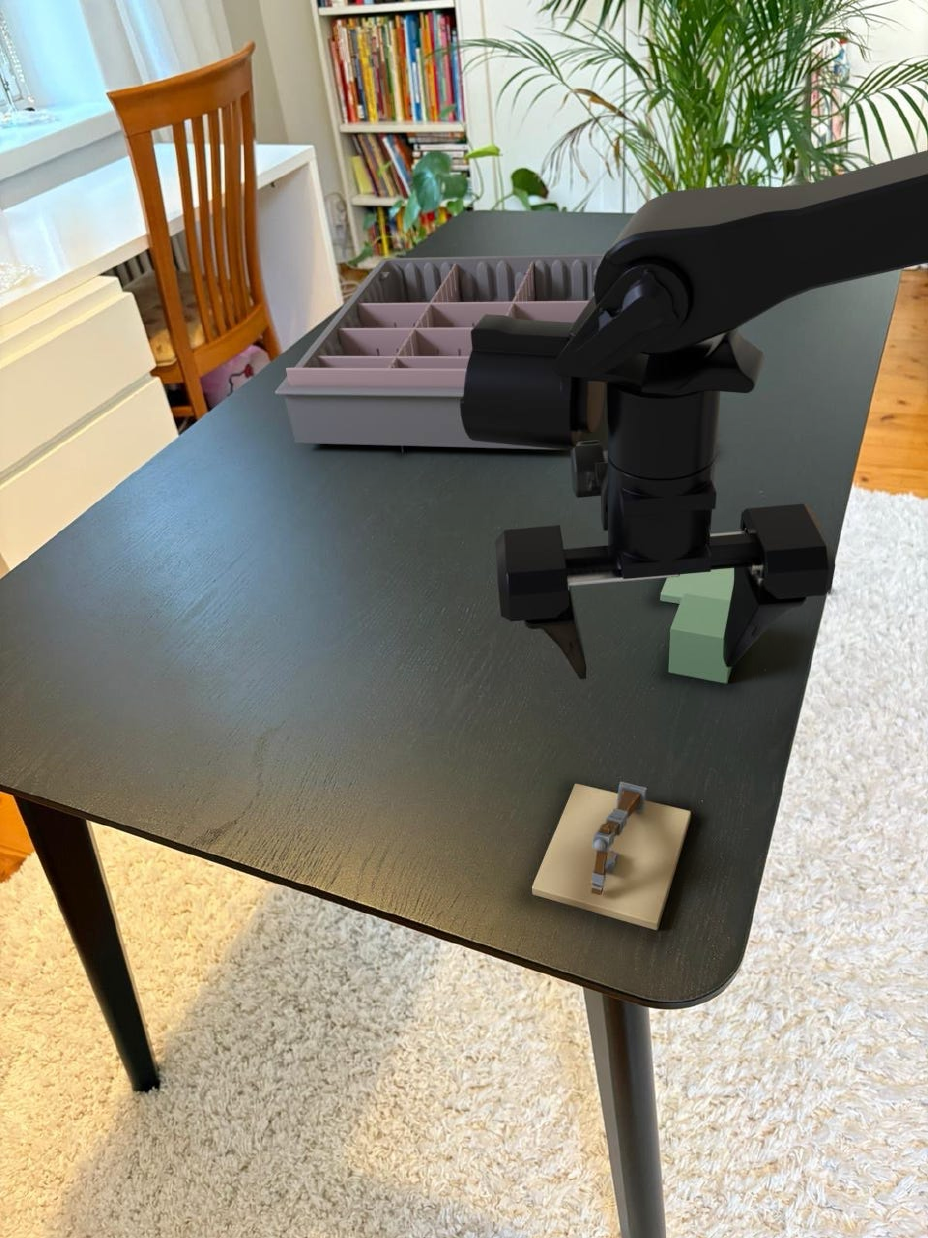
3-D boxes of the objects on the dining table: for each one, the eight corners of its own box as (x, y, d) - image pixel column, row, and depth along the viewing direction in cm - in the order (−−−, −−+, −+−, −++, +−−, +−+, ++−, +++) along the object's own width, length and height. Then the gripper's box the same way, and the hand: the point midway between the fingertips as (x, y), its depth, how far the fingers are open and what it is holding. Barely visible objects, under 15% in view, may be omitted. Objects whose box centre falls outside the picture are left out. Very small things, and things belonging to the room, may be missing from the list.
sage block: (738, 646, 77) (742, 602, 75) (726, 684, 74) (731, 639, 71) (681, 636, 79) (683, 592, 76) (668, 672, 76) (670, 628, 73)
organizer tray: (616, 312, 131) (615, 237, 125) (574, 465, 101) (571, 376, 95) (389, 314, 139) (378, 243, 132) (289, 457, 109) (269, 374, 103)
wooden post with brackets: (576, 897, 59) (585, 831, 58) (612, 839, 66) (620, 778, 65) (605, 906, 58) (614, 839, 57) (638, 846, 65) (647, 785, 64)
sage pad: (772, 561, 85) (773, 554, 85) (756, 617, 80) (757, 609, 79) (681, 548, 88) (682, 541, 88) (660, 601, 83) (660, 593, 82)
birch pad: (690, 818, 65) (691, 810, 64) (657, 931, 59) (657, 923, 58) (575, 790, 68) (575, 782, 67) (532, 895, 61) (531, 887, 61)
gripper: (796, 370, 58) (771, 580, 68) (483, 400, 59) (503, 602, 69) (857, 465, 49) (817, 690, 59) (489, 498, 50) (510, 714, 60)
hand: (654, 668), depth 62 cm, fingers open, 9 cm apart
